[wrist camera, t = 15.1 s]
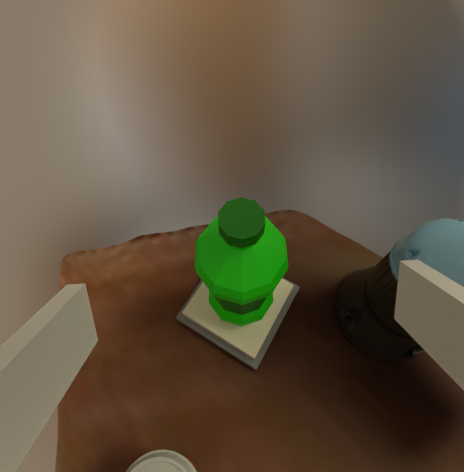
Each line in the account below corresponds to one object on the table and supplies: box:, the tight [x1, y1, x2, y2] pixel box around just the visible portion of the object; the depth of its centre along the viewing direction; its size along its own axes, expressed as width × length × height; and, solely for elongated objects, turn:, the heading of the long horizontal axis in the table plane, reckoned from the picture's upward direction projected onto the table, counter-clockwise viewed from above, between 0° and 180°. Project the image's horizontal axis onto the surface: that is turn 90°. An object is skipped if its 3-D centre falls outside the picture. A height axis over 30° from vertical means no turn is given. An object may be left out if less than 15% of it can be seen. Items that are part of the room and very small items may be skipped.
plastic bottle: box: [195, 198, 288, 327], centre depth 38 cm, size 10×10×25 cm
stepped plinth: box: [176, 278, 300, 370], centre depth 51 cm, size 15×15×4 cm
